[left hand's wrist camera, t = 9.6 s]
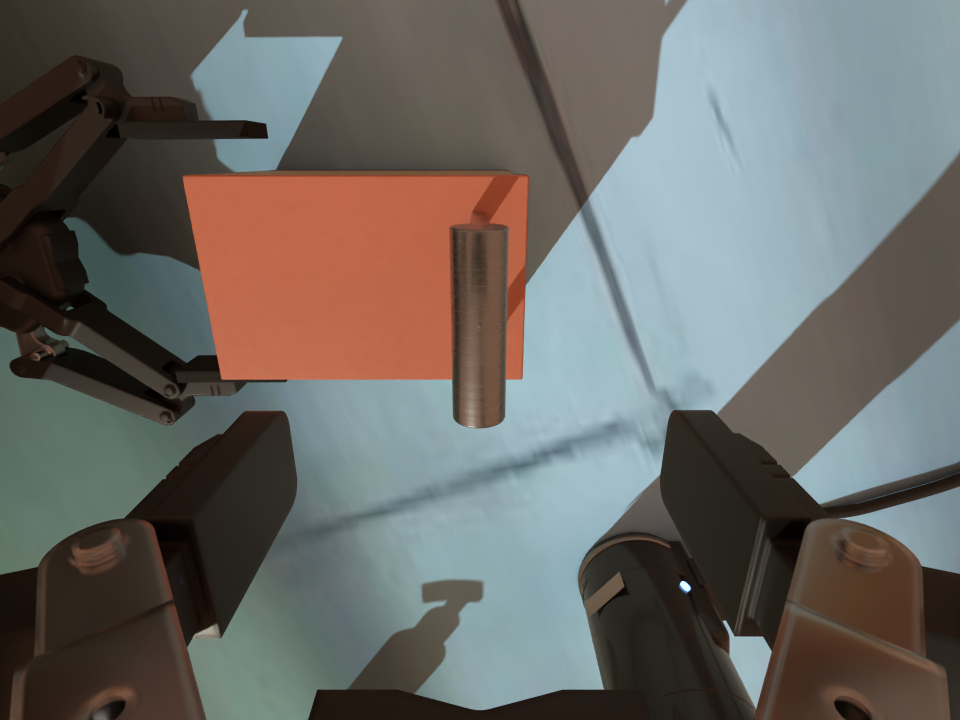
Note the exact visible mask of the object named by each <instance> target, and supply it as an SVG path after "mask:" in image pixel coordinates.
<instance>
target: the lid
mask: <svg viewBox="0 0 960 720" xmlns="http://www.w3.org/2000/svg"><path fill="white" fill-rule="evenodd" d="M183 182H184V187H185V192H186V198H187V203H188V208H189V213H190V218H191V223H192V229H193V234H194V239H195V244H196V249H197V255H198V260H199V265H200V270H201V275H202V280H203V286H204V291H205V296H206V301H207V306H208V312H209V317H210V322H211V327H212V332H213V338H214V343H215V348H216V353H217V358H218V363H219V369H220V374H221V379H223V380H334V379H452V392H453V418H454V420H455V421H456V422H457V423H459V424H460V425H463V426H466V427H470V428H488V427H492V426H495V425H498V424H500V423H501V422H502V421H503V420H504V418H505V394H506V379H522V377H523V345H524V314H525V282H526V251H527V220H528V188H529V177H528V176H527V175H184V176H183Z"/></svg>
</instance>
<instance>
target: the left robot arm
mask: <svg viewBox="0 0 960 720" xmlns="http://www.w3.org/2000/svg"><path fill="white" fill-rule="evenodd" d="M959 486H960V473H958V474H955V475H953V476H950V477H947V478H944V479H941V480H938V481H935V482H932V483H928V484H925V485H922V486H919V487H915V488H912V489H908V490H905V491H901V492H897V493H894V494H890V495H887V496H883V497H880V498H876V499H872V500H869V501H865V502H862V503H858V504H853V505H848V506H842V507H835V508H826V509H823V508H822V507H821V506H820V505H819V504H818V503H817V502H816V501H815V500H814V499H813V498H812V497H811V496H810V495H809V494H808V493H807V492H806V491H805V490H804V489H803V488H802V487H801V486H800V485H799V484H798V483H797V482H796V481H795V480H794V479H793V478H790V474H789V473H788V472H787V471H786V470H785V469H784V468H783V467H782V466H781V465H777V461H776V460H775V459H774V458H773V457H772V456H771V455H770V454H769V453H768V452H767V451H766V450H765V449H764V448H763V447H762V446H760V445H759V444H757V443H755V442H753V441H751V440H750V439H748V438H746V437H744V436H743V435H741V434H739V433H733V432H732V431H731V430H730V429H729V428H728V427H727V426H726V425H725V423H724V422H723V421H722V420H721V419H720V418H719V417H718V416H717V415H716V414H715V413H714V412H713V411H711V410H674V411H673V412H672V413H671V414H670V417H669V420H668V426H667V433H666V440H665V447H664V454H663V461H662V468H661V475H660V487H661V494H662V499H663V502H664V505H665V507H666V509H667V510H668V512H669V514H670V516H671V518H672V520H673V522H674V524H675V525H676V527H677V529H678V531H679V533H680V535H681V537H682V539H683V540H684V542H685V544H686V546H687V548H688V550H689V552H690V554H691V555H692V557H693V558H689V557H688V555H687V553H686V551H685V549H684V547H683V545H682V543H681V542H667V541H665V540H663V539H661V538H659V537H656V536H653V535H649V534H640V533H632V534H624V535H620V536H616V537H613V538H610V539H608V540H606V541H604V542H602V543H601V544H599V545H598V546H596V547H595V548H594V549H593V550H592V551H590V552H589V554H588V555H587V556H586V557H585V559H584V560H583V562H582V564H581V566H580V569H579V573H578V585H579V590H580V594H581V597H582V600H583V604H584V608H585V610H586V615H587V619H588V624H589V628H590V632H591V636H592V641H593V645H594V649H595V654H596V658H597V662H598V666H599V671H600V675H601V679H602V684H603V688H604V690H560V691H556V692H552V693H549V694H545V695H541V696H537V697H533V698H530V699H526V700H522V701H518V702H515V703H511V704H507V705H503V706H499V707H496V708H492V709H488V710H472V709H468V708H464V707H461V706H457V705H453V704H449V703H445V702H442V701H438V700H434V699H430V698H427V697H423V696H419V695H415V694H411V693H408V692H404V691H400V690H317V693H316V696H315V699H314V702H313V706H312V709H311V712H310V715H309V719H308V720H960V574H957V573H952V572H947V571H943V570H938V569H933V568H928V567H923V566H921V564H920V562H919V560H918V559H917V557H916V556H915V555H914V554H913V553H912V552H911V551H910V550H909V549H908V548H907V547H906V546H905V545H903V544H902V543H901V542H899V541H898V540H896V539H895V538H893V537H891V536H890V535H888V534H886V533H884V532H882V531H880V530H877V529H875V528H873V527H870V526H867V525H865V524H862V523H858V522H855V521H850V520H845V519H838V518H846V517H852V516H858V515H862V514H866V513H870V512H874V511H878V510H881V509H885V508H888V507H892V506H896V505H899V504H903V503H906V502H910V501H914V500H917V499H921V498H924V497H928V496H931V495H934V494H938V493H941V492H944V491H947V490H950V489H953V488H956V487H959ZM296 490H297V474H296V467H295V460H294V453H293V447H292V440H291V433H290V426H289V421H288V417H287V415H286V413H285V412H283V411H245V412H243V413H242V414H241V415H240V416H239V417H238V419H237V420H236V421H235V422H234V423H233V424H232V425H231V426H230V427H229V428H228V429H227V430H226V431H225V432H224V434H217V435H216V436H214V437H212V438H210V439H209V440H207V441H205V442H203V443H201V444H200V445H198V446H196V447H194V448H193V449H192V450H191V451H190V452H189V453H188V454H187V455H186V456H185V457H184V459H183V460H182V461H181V462H180V463H179V466H176V467H175V468H174V469H173V470H172V471H171V472H170V473H169V474H168V475H167V476H166V479H163V480H162V481H161V482H160V483H159V484H158V485H157V486H156V487H155V488H154V489H153V490H152V491H151V492H150V493H149V494H148V495H147V496H146V497H145V498H144V499H143V500H142V501H141V502H140V503H139V504H138V505H137V506H136V507H135V508H134V509H133V510H132V511H131V512H130V513H129V514H128V515H127V516H126V517H125V518H123V519H115V520H110V521H105V522H102V523H98V524H95V525H93V526H90V527H87V528H85V529H83V530H80V531H78V532H76V533H74V534H72V535H70V536H69V537H67V538H65V539H64V540H62V541H61V542H59V543H58V544H57V545H55V546H54V547H53V548H52V549H51V550H50V551H49V552H48V553H47V554H46V555H45V556H44V557H43V559H42V560H41V562H40V564H39V567H36V568H31V569H26V570H21V571H17V572H12V573H7V574H2V575H0V720H206V716H205V712H204V709H203V705H202V701H201V698H200V694H199V690H198V687H197V683H196V679H195V676H194V672H193V668H192V664H191V661H190V657H189V653H188V650H187V647H188V645H189V643H190V642H191V640H192V638H222V636H223V634H224V632H225V630H226V628H227V626H228V625H229V623H230V621H231V619H232V617H233V615H234V614H235V612H236V610H237V608H238V606H239V604H240V602H241V601H242V599H243V597H244V595H245V593H246V591H247V589H248V588H249V586H250V584H251V582H252V580H253V578H254V577H255V575H256V573H257V571H258V569H259V567H260V565H261V564H262V562H263V560H264V558H265V556H266V554H267V552H268V551H269V549H270V547H271V545H272V543H273V541H274V540H275V538H276V536H277V534H278V532H279V530H280V528H281V527H282V525H283V523H284V521H285V519H286V517H287V515H288V514H289V512H290V510H291V508H292V506H293V504H294V500H295V496H296ZM724 620H726V621H727V623H728V625H729V627H730V628H731V630H732V632H733V634H734V636H763V637H764V639H765V640H766V642H767V644H768V646H769V647H770V649H771V651H772V653H771V657H770V661H769V664H768V668H767V672H766V675H765V679H764V683H763V687H762V690H761V694H760V698H759V701H758V705H757V709H756V708H755V706H754V704H753V702H752V700H751V698H750V696H749V694H748V692H747V690H746V688H745V686H744V684H743V682H742V680H741V678H740V676H739V674H738V672H737V670H736V668H735V666H734V664H733V662H732V660H731V658H730V657H729V634H728V631H727V629H726V627H725V625H724V623H723V621H724Z"/></svg>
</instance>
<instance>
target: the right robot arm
mask: <svg viewBox="0 0 960 720" xmlns="http://www.w3.org/2000/svg"><path fill="white" fill-rule="evenodd" d="M81 112H82V113H81ZM80 113H81V114H80ZM78 114H80V115H79V116H78V118H77V119H76V120H75V121H74V123H73V124H72V125H71V126H70V128H69V129H68V130H67V131H66V133H65V134H64V135H63V136H62V138H61V139H60V140H59V141H58V143H57V144H56V145H55V146H54V147H53V149H52V150H51V151H50V152H49V154H48V155H47V156H46V157H45V159H44V160H43V161H42V162H41V164H40V165H39V166H38V167H37V169H36V170H35V171H34V172H33V174H32V175H31V176H30V177H29V178H28V180H27V181H26V182H25V183H24V184H23V185H20V186H18V187H16V188H14V189H13V190H12V189H10V188H9V187H7V186H5V185H2V184H0V327H3V328H6V329H8V330H10V331H13V332H16V335H17V340H18V344H19V349H20V353H21V357H18V358H16V359H14V360H12V361H11V362H10V369H11V371H12V372H13V373H14V374H15V375H17V376H19V377H23V378H33V379H44V380H51V381H54V382H57V383H59V384H62V385H64V386H67V387H69V388H72V389H74V390H77V391H79V392H82V393H85V394H87V395H90V396H92V397H95V398H97V399H100V400H102V401H105V402H107V403H110V404H112V405H115V406H118V407H120V408H123V409H125V410H128V411H130V412H133V413H135V414H138V415H140V416H143V417H145V418H148V419H151V420H153V421H156V422H158V423H161V424H163V425H172V424H173V423H175V422H176V421H177V420H178V419H179V418H180V417H182V416H183V415H184V414H185V413H186V412H187V411H189V410H190V409H191V408H192V407H193V406H194V405H195V399H194V397H193V396H213V395H214V396H220V395H221V396H230V395H232V394H235V393H237V392H238V391H239V390H240V389H241V388H242V387H243V386H244V385H245V384H246V382H286V381H287V380H223V379H221V374H220V369H219V363H218V358H217V355H198V356H196V357H195V358H194V359H192V360H191V361H189V362H188V363H186V362H184V361H183V360H181V359H180V358H178V357H177V356H175V355H174V354H172V353H171V352H169V351H168V350H166V349H165V348H163V347H162V346H160V345H159V344H157V343H156V342H154V341H153V340H151V339H150V338H148V337H147V336H145V335H144V334H142V333H141V332H139V331H138V330H136V329H135V328H133V327H132V326H130V325H129V324H127V323H126V322H124V321H123V320H121V319H120V318H118V317H117V316H115V315H114V314H112V313H111V312H109V311H108V310H107V305H106V304H105V303H104V302H103V301H101V300H100V299H98V298H97V297H95V296H94V295H92V294H91V293H89V292H88V291H86V290H85V289H84V286H85V284H86V283H89V281H88V277H87V274H86V270H85V268H84V266H83V265H82V263H81V261H80V259H79V257H78V241H77V238H76V234H75V231H70V230H69V229H68V227H67V226H66V224H65V223H64V222H63V221H64V219H65V218H66V217H67V216H68V215H69V214H70V212H71V211H72V210H73V209H74V208H75V207H76V205H77V204H78V200H77V198H78V196H79V195H80V194H81V193H82V192H83V191H84V189H85V188H86V187H87V186H88V185H89V183H90V182H91V181H92V180H93V179H94V178H95V176H96V175H97V174H98V173H99V172H100V171H101V169H102V168H103V167H104V166H105V165H106V163H107V162H108V161H109V160H110V159H111V158H112V156H113V155H114V154H115V153H116V152H117V151H118V149H119V148H120V147H121V146H122V145H123V143H124V142H125V141H126V140H127V139H128V138H136V139H268V134H267V127H266V124H264V123H258V122H252V121H246V120H228V121H199V120H198V114H197V109H196V104H195V103H192V102H190V101H187V100H184V99H179V98H174V97H132V96H131V95H130V94H129V93H128V92H127V91H126V89H125V87H124V86H123V75H122V73H121V71H120V70H119V69H118V67H116V66H115V65H113V64H109V63H105V62H101V61H97V60H94V59H90V58H86V57H82V56H76V55H75V56H72V57H70V58H69V59H67V60H66V61H64V62H63V63H61V64H60V65H58V66H57V67H55V68H54V69H52V70H51V71H49V72H48V73H46V74H45V75H44V76H42V77H41V78H39V79H38V80H36V81H35V82H33V83H32V84H30V85H29V86H27V87H26V88H24V89H23V90H21V91H20V92H18V93H17V94H15V95H14V96H12V97H11V98H10V99H8V100H7V101H5V102H4V103H2V104H1V105H0V170H1V169H3V168H5V167H6V165H7V163H11V162H12V156H11V155H10V154H9V153H14V152H18V151H21V150H23V149H25V148H27V147H29V146H31V145H32V144H34V143H35V142H37V141H38V140H40V139H42V138H43V137H45V136H46V135H48V134H49V133H51V132H52V131H54V130H55V129H57V128H58V127H60V126H61V125H63V124H65V123H66V122H68V121H69V120H71V119H72V118H74V117H75V116H77V115H78ZM69 306H72V307H73V308H74V309H71V310H68V311H66V309H67V308H68V307H69ZM44 327H46V328H48V329H49V330H51V331H52V332H54V333H56V334H58V335H62V336H70V337H72V338H74V339H75V340H77V341H79V342H80V343H82V344H83V345H85V346H86V347H88V348H89V349H91V350H93V351H94V352H96V353H97V354H99V355H100V356H102V357H103V358H102V357H99V356H97V355H94V354H92V353H89V352H86V351H83V350H80V349H76V348H69V344H68V342H67V341H65V340H61V341H59V340H56V339H53V338H51V337H49V336H48V335H47V334H46V332H45V330H44ZM104 358H105V359H104ZM106 359H107V360H106Z"/></svg>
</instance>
